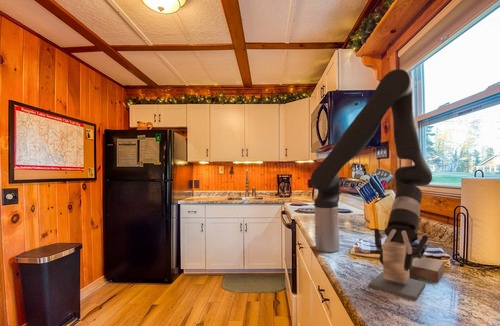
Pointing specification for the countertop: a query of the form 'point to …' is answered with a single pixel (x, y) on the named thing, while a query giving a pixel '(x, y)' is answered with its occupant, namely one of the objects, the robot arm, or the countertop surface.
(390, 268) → the maple block
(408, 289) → the slate mat
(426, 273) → the walnut ledge
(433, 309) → the countertop surface
